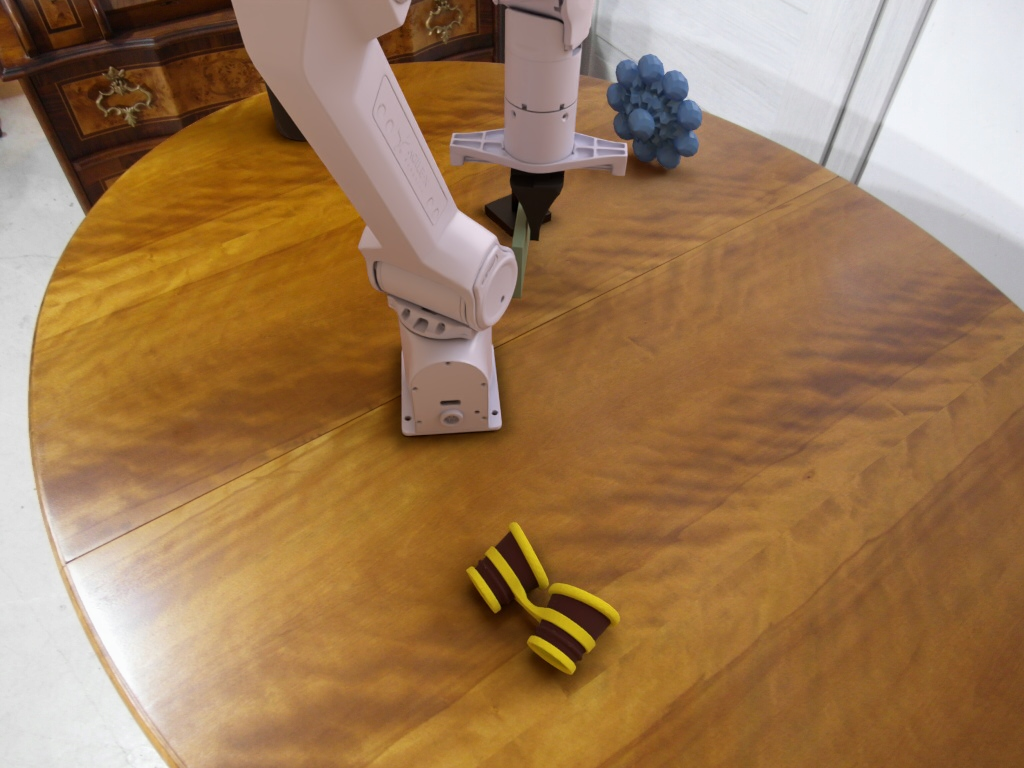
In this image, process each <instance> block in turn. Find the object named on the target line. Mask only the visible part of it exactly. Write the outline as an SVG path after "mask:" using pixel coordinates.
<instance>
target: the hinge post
mask: <svg viewBox="0 0 1024 768" xmlns="http://www.w3.org/2000/svg"><path fill="white" fill-rule="evenodd" d="M518 205H519V200H518V199H517V197H516V196H515V194H514V193H513V192H512V191H511V193H510V194H508V195H505V196H503V197H500V198H498V199H496V200H493V201H490V202H489V203H486V204H484V213H485V214H486V215H487V216H488V217H489V218H490V219H492V221H494V223H496V224H497V225H498V226H499V227H500V228H501V229H502V230H503V231H504V232H506V233H507V234H508V235H509V236H510V237H512V238H513V235H514V229H515V223H516V217H517V211H518ZM550 221H552V212H551V211H550V209H549V210H548V212H547V213H546V215H545V218H544V220H543V222H542V225H543V224H546V223H548V222H550Z"/></svg>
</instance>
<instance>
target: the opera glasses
mask: <svg viewBox="0 0 1024 768" xmlns="http://www.w3.org/2000/svg"><path fill="white" fill-rule="evenodd" d="M465 573H466V574H467V576H468V578H469V579H470V581H471V582H472V583H473V586H474V587H475V588H476V590H477V592H478V593H479V594H480V596H481V597H482V599H483V600H484V602H485V603H486V604H487V605H488V607H489V608H490V610H491V611H492V612H493V613H494V614H497V613H499V612H500V611H501V610H502V607H501V606H502V605H505V604H506V605H510V604H511V601H513V600H515V601H516V602H517V603H518V604H519V605H520V606H521V607H523V609H524V611H526V612H527V613H528V614H529V615H531V616H532V617H533V618H534V619H535V620H536V622H538V623H539V624H538V625H536V626H535V631H536V632H535V635H530V636H529V637H528V639H527V641H526V644H527V646H528V648H530V649H531V651H533V652H534V653H535V654H536V655H538V657H540V658H541V659H543V660H544V661H545V662H546V663H549V664H550V665H551V666H553V667H554V668H556V669H558V671H561V672H563V673H565V674H566V675H570V676H572V675H574V673H575V671H576V670H577V666H576V663H577V662H579V661H580V662H581V661H582V660H583V655H584V654H589V653H590V652H591V651H592V650H593V649H595V647H596V646H597V644H596V641H597V640H598V638H600V637H601V635H602V634H603V633H604V632H605V631H606V630H607V629H611V628H615V627H616V626H618V625H619V623H620V621H621V616H620V614H619V612H618V611H617V610H616V609H615V608H614V607H613V606H611V605H610V604H609V603H607V602H606V601H604V600H603V599H602V598H600V597H598V596H597V595H594V594H592V593H590V592H588V591H586V590H584V589H581V588H579V587H577V586H574V585H570V584H567V583H562V582H554V583H553V584H551V585H550V582H549V578H548V576H547V574H546V572H545V570H544V568H543V566H542V563H541V562H540V560H539V559H538V556H537V554H536V552H535V550H534V549H533V547H532V545H531V543H530V541H529V540H528V538H527V536H526V534H525V533H524V531H523V529H522V528H521V526H520V525H519V524H518V522H516V521H512V522H510V523H509V524H508V533H506V534H505V535H504V537H502V539H501V540H500V541H499V542H498V543H497V544H496V545H495V546H492V545H490V547H489V548H488V549H487V550H486V551H485V552H484V558H483V559H478V561H477V565H476V566H475V567H474V566H469V567H468V568H467V569H466V570H465ZM549 585H550V586H549ZM536 589H539V590H541V591H544V590H546V589H548V596H549V600H548V602H547V606H546V607H544V606H543V607H542V606H537V605H535V604H533V603H532V602H531V601H530V600H529V598H528V596H527V593H529V592H532V591H533V590H536Z"/></svg>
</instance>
